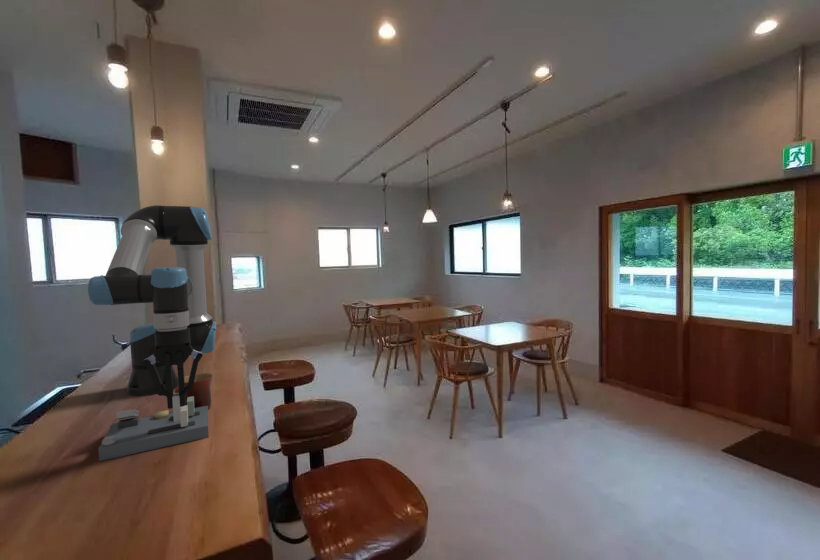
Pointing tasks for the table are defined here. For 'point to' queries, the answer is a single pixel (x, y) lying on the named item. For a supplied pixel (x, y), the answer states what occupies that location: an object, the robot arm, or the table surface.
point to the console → (152, 433)
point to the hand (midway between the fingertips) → (177, 419)
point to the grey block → (190, 406)
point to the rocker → (127, 414)
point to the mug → (199, 390)
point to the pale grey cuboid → (184, 416)
